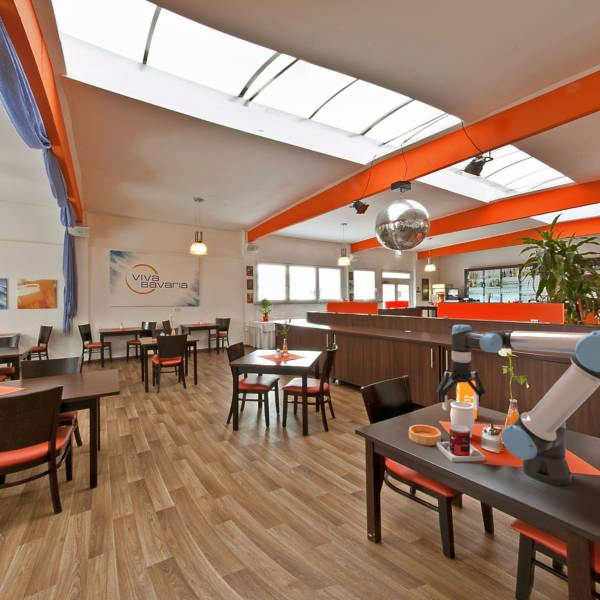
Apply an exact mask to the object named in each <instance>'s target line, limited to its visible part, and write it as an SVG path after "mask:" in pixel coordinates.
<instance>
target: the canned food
mask: <svg viewBox="0 0 600 600" xmlns="http://www.w3.org/2000/svg"><path fill="white" fill-rule="evenodd" d="M449 442H450V452H451V453H452V454H454V455H456V456H469V454H470V444H471V438H470V429H469V428H468V427H466V426H463V425H456V424H455V425H452V424H450V425H449Z"/></svg>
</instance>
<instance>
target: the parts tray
mask: <svg viewBox="0 0 600 600" xmlns="http://www.w3.org/2000/svg"><path fill="white" fill-rule="evenodd" d="M442 442H443V441H441V442H436V445H435V446H436V448H437V449H439V451H440V452H441V453H443V454H444V456H446V458H448V460H450V461H451V463H452V462H453V463H456V462H457V463H459V462H486V456H485V455H484V453H482V452H480V450H478V449H477V448H476V447H474V446H473V445H472V444H471V443H470V454H469V456H456V455H454V454H452V453H451V452H450V441H446V442H447V444H448V448H447V449H444V448H443V447H442V446H441V443H442ZM474 450H476V451H478V452H479V453H480V456H472V451H474Z"/></svg>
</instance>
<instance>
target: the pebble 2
mask: <svg viewBox="0 0 600 600" xmlns="http://www.w3.org/2000/svg"><path fill="white" fill-rule="evenodd" d="M478 451H479V450H478ZM478 451H476V450H474V451H472V456H480V453H481V452H480V451H479V452H480V453H479V452H478Z"/></svg>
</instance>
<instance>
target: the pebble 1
mask: <svg viewBox="0 0 600 600" xmlns="http://www.w3.org/2000/svg"><path fill="white" fill-rule="evenodd" d="M441 442H442V443H441V446H442V447H443V448H444V449H447V448H448V444H447V442H448V441H441Z"/></svg>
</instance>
